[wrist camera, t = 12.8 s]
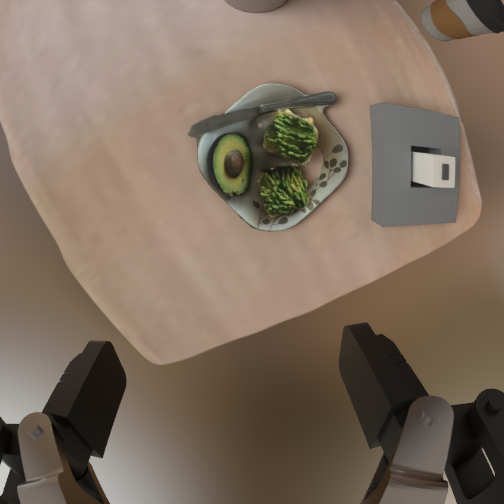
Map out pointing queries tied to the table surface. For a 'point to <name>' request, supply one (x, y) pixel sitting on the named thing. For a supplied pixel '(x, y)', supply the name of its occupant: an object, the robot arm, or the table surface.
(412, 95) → the table surface
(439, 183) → the block
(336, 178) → the avocado toast plate
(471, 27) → the coffee cup
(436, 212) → the outlet box
